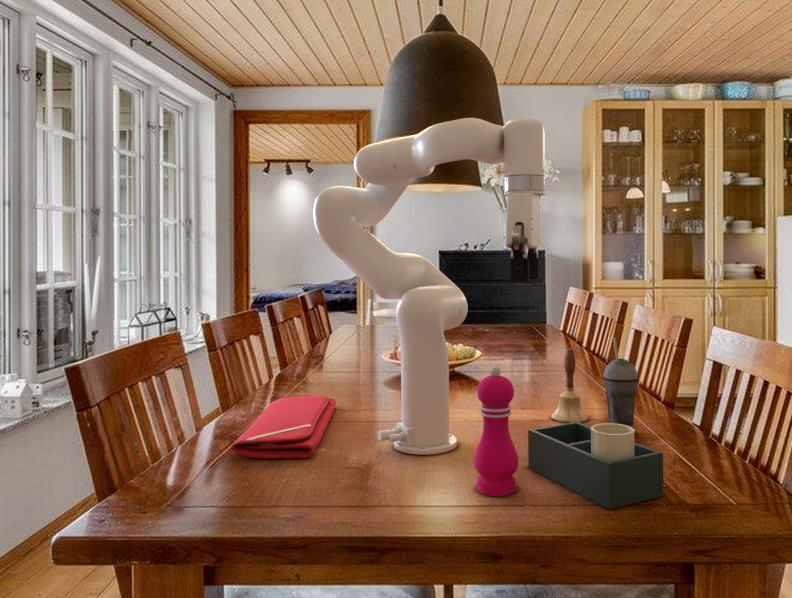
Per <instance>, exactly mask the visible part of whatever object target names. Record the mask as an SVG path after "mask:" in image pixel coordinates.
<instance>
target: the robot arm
mask: <svg viewBox="0 0 792 598" xmlns="http://www.w3.org/2000/svg"><path fill="white" fill-rule="evenodd" d="M545 133H546V131H545V125H544V123H543V121H541V120H539V119H536V118H527V117H526V118H525V117H524V118H514V119H510V120H509V121H507V122H506V123H505V125H499V124H495V123H492V122H491V121H487V120H484V119H481V118H477V117H464V118H458V119H454V120H449V121H443V122H440V123H436V124H433V125H431V126H428V127H427V128H425V129H423V130H421V131H420V132H419V133H416V134H413V135H408V136H403V137H398V138H393V139H389V140H383V141H380V142H374V143H369V144H367V145H365V146H363V147H362V148H360V149H359V150H358V151H357V153H356V155H355V156H354V160H353V167H354V171H355V173H356V175H357V177H359V179H361V180H362V181H364V182H365V183H367V184H366V186H365V187H364V188H362V187H355V186H347V185H335V186H331V187H327V188H325V189H323V190H322V191H320V193H319V194H318V195H317V196H316V198H315V201H314V205H313V211H312V212H313V222H314V226H315V230H316V232H317V235H318V236H319V238H320V240H321V241H322V243H323V244H324V245H325V246H326V247H327V249H328V250H330V251H331V253H333V254H334V255H335V256H336V257H338V258H339V260H341V261H342V263H344V265H346V266H347V267H348V268H349V269H350V270H351V271H352V272H353V273H354V274H355V275H356V276H357V277H358V278H359V279H360V280H361V281H362V282H363V283H364V284H365V285H366V286H367V287H368V288H369V289H370V290H371V291H372V292H373V293H375V294H376V295H377V296H378V297H379V298H381V299H385V300H398V301H397V304H396V308H395V321H396V325H397V331H398V336H399V337H398V338H399V345H400V390H401V392H400V399H401V400H400V404H401V407H400V408H401V409H400V410H401V411H400V412H401V415H400V419H401V421H400V422H396V426H394V427H393V428H392V429H384V430H379V431H377V440H378V441H379V442H384V441H389V442H390V443H393V447H394V449H395V450H397V451H398V452H401V453H404V454H409V455H417V456H419V455H421V456H426V455H427V456H428V455H429V456H430V455H438V454H443V453H447V452H450V451H453V450H454V449H456V448H457V446H458V439H457V437H456V436H455V435H453V434H451V433H450V365H449V364H450V363H449V360H450V359H449V349H448V343H447V341H446V337H445V334H444V331H449V330H452V329H455V328H457V327H459V326H460V325H461V324H462V323H463V322H464V321H465V320H466V318H467V315H468V310H469V307H468V306H469V305H468V301H467V298H466V296H465V294H464V292H463V290H461V289H460V287H459V286H457V285H456V284H455V283H454V282H453V281H452V280H451V279H450V278H448V277H447V276H446V275H445V274H444V273H443V272H442V271H441V270H440V269H438V268H437V267H436V266H435V265H434V264H433V263H432V262H431V261H429V260H428V259H427V258H425V257H423V256H422V255H420V254H416V253H411V252H405V253H404V252H396V251H394V250H391V249H390V248H389V247H388V246H387V245H385V243H383V242H381V241H380V239H379V238H378V237H377V236H376V235H374V234H373V233H371V232H369V231H368V230H366V228H367V227H368V228H369V227H373V226H377V225H378V224H380V223H381V222H382V221H383V220H384V219H385V218H386V216H387V215H388V214H389V213H390V212H391V210H392V208H393V207H394V206H395V204H396V203H397V202H398V200H399V199H400V197H401V196H402V195H403V193H404V192H405V191H406V189H407V188H408V186H409V185H410V183H411V181H412V179H418V178H423V177H428V176H430V175H431V174H432V173H433V172H434V169H435V168H436V166H438V165H442V164H445V163H450V162H457V161H463V160H471V161H476V162H479V163H483V164H487V165H498V164H503V195H504V196H505V197H507V198H506V210H505V211H506V212H505V236H504V237H505V238H504V245H505V247H506V248H507V249H511V250H510V281H511V283H516V282H517V283H527V282H529V281H530V280H538V279H539V277H540V269H539V266H540V265H539V263H540V261H539V251H538V247H540V245H541V204H540V203H541V202H540V197H543V196H546V140H545V139H546V138H545V137H546V136H545V135H546V134H545ZM364 227H365V228H364Z"/></svg>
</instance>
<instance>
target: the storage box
mask: <svg viewBox="0 0 792 598" xmlns="http://www.w3.org/2000/svg"><path fill="white" fill-rule="evenodd" d="M591 427H592V426H590V425H588V424H586V423H583V422H572V423H570V422H565V423H561V424H554V425H549V426H548V425H547V426H541V427H536V428H531V429H528V430H527V447H528V448H527V449H528V450H527V451H528V452H527V454H528V455H527V457H528V459H527V461H528V465H527V466H528V468H527V469H530V470H531V471H533V472H536V473H538V474H540V475H542V476H544V477H546V478H547V479H549V480H551V481H553V482H555V483H557V484H559V485H561V486H563V487H565V488H567V489H569V490H570V491H573V492H575V493H577V494H579V495H580V496H583V497H584V498H586V499H588V500H590V501H592V502H594V503H596V504H597V505H600V506H602V507H604V508H606V509H607V510H612V509H617V508H620V507H624V506H629V505H633V504H636V503H640V502H645V501H649V500H653V499H656V498H661V497H664V495H665V493H664V492H665V491H664V452H662V451H659V450H657V449H654V448H651V447H649V446H645V445H643V444H640V443H637V442H635V457H630V458H625V459H621V460H616V461H611V462H609V461H606V460H604V459H601V458H599V457H597V456H594V455H592V454H591Z"/></svg>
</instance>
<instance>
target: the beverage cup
mask: <svg viewBox="0 0 792 598" xmlns="http://www.w3.org/2000/svg"><path fill="white" fill-rule="evenodd" d="M612 340H613V347H614V354H615V359H613V360H610V362H608V363H607V365H606V366H605V369H604V371H603V376H602V377H603V378H602V379H603V383H604V384H603V385H604V388H605V392H606V405H607V417H608V423H615V424H622V425H627V426H630V427H632V428H633V429H634V421H635V408H636V395H637V393H636V392H637V388H638V381H639V375H638V371H637V369H636V367H635V366H634V364H633V363H632V362H631V361H629V360H628V359H625V358H619V352H618V345H617V338H616V337H613V339H612Z"/></svg>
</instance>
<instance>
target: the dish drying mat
mask: <svg viewBox="0 0 792 598" xmlns="http://www.w3.org/2000/svg"><path fill="white" fill-rule="evenodd" d="M336 404H337V401H336V399H334V398H330V397H329V396H326V395H295V396H288V397H287V396H286V397H282V398H279V399H276V400H274V401H272V402H271V403H270V404H269V405H268V406H267V407H266V408H265V409H264V410H263V411H262V412H261V414H259V416H258V417H257V418H256V419H255V420H254V421H253V422H252V423H251V425H250V426H249V427H248V428H247V429H246V430H245V432H243V433H242V434H241V436H240V437H238V438H237V440H236V441H235V442H234V443H233V444H232V445H231V449H232V451H233V452H235V453H236V454H238V455H240V456H243V457H246V458H247V457H248V458H254V459H308V458H311V457H312V456H313V455H314V453H315V452H316V449H317V447H318V446H319V444H320V443H321V440H322V438H323V436H324V434H325V433H326V429H327V427H328V425H329V423H330V421H331V418H332V416H333V415H334V412H335V408H336Z"/></svg>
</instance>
